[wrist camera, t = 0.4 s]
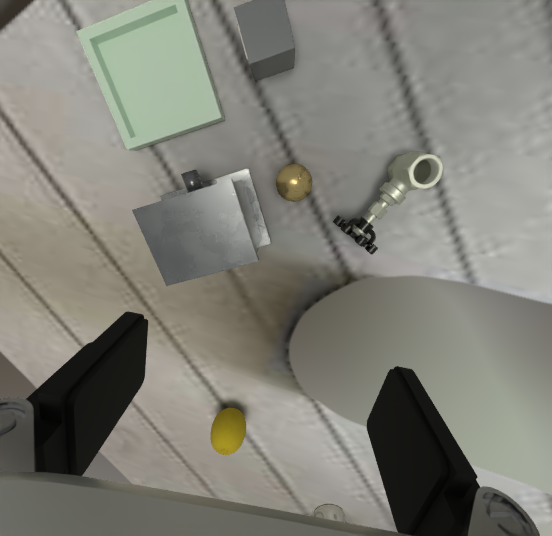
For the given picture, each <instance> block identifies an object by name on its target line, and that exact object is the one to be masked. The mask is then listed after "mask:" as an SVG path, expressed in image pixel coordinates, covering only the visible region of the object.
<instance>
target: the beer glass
mask: <svg viewBox="0 0 552 536" xmlns="http://www.w3.org/2000/svg"><path fill="white" fill-rule="evenodd" d="M314 517H318V518H323V519H329V520H334V521H339V522H344V512H343V510H342V509H341V508H340V507H338V506H336V505H332V504H326V505H322V506H320V507H318V508H317V509H316V510H315V512H314Z"/></svg>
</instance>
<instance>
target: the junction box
mask: <svg viewBox="0 0 552 536" xmlns="http://www.w3.org/2000/svg"><path fill="white" fill-rule="evenodd" d="M181 175H182V178H183V180H184V183H185V185H186V188H184V189H181V190H178V191H175V192H171V193H168V194H165V195H162V196H161V199H162V201H160V202H157V203H154V204H150V205H147V206H144V207H141V208H137V209H134V210H132V211H133V213H134V215H135V218H136V220H137V222H138V224H139V226H140V229H141V231H142V233H143V235H144V237H145V240H146V242H147V244H148V246H149V248H150V251H151V253H152V255H153V257H154V259H155V262H156V264H157V266H158V268H159V270H160V273H161V275H162V277H163V279H164V281H165V284H166V286H168V285H172V284H176V283H180V282H183V281H187V280H191V279H194V278H198V277H202V276H206V275H209V274H213V273H217V272H221V271H224V270H228V269H232V268H236V267H239V266H243V265H247V264H250V263H254V262H258V260H259V258H258V255H257V251H258V248H259V247H260V246H264V245H268V244H271V240H270V237H269V234H268V230H267V227H266V224H265V221H264V217H263V214H262V211H261V208H260V204H259V201H258V198H257V194H256V191H255V188H254V185H253V181H252V178H251V175H250V172H249V168H248V169H245V170H242V171H238V172H235V173H232V174H229V175H226V176H222V177H219V178H216V179H213V180H210V181H206V182H203V183H201V180H200V177H199V174H198V172H197V170H193V171H189V172H186V173H183V174H181Z"/></svg>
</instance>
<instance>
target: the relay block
mask: <svg viewBox="0 0 552 536" xmlns="http://www.w3.org/2000/svg"><path fill="white" fill-rule="evenodd" d="M234 10H235V13H236V17H237V21H238V24H237V25H238V29H239V33H240V36H241V40H242V43H243V47H244V51H245V54H246V58H247V61H248V64H249V66H250V67H251V70H252V72H253V75H254V78H255V81H258V80H261V79H264V78H267V77H269V76H272V75H275V74H278V73H281V72H284V71H286V70H289V69H292V68H294V57H295V45H294V40H293V36H292V31H291V27H290V22H289V18H288V14H287V9H286V5H285V0H252V1H250V2H247V3H245V4H242V5H240V6H237V7H234Z"/></svg>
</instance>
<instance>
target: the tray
mask: <svg viewBox="0 0 552 536" xmlns="http://www.w3.org/2000/svg"><path fill="white" fill-rule="evenodd" d="M76 32H77V35H78V37H79V39H80V42H81V44H82V46H83V49H84V51H85V53H86V56H87V58H88V60H89V63H90V65H91V67H92V70H93V72H94V74H95V77H96V79H97V81H98V83H99V86H100V88H101V90H102V93H103V95H104V97H105V100H106V102H107V104H108V107H109V109H110V111H111V114H112V116H113V118H114V121H115V123H116V125H117V128H118V130H119V132H120V135H121V137H122V139H123V142H124V144H125V146H126V148H127V150H135V151H136V150H139V149H141V148H144V147H147V146H150V145H153V144H156V143H159V142H162V141H165V140H168V139H171V138H174V137H177V136H180V135H183V134H186V133H188V132H191V131H194V130H197V129H200V128H203V127H206V126H209V125H212V124H215V123H218V122H221V121H224V120H225V118H224V115H223V112H222V109H221V106H220V102H219V99H218V96H217V93H216V90H215V86H214V83H213V80H212V77H211V74H210V71H209V67H208V64H207V61H206V58H205V55H204V52H203V48H202V45H201V42H200V39H199V36H198V32H197V29H196V26H195V23H194V20H193V17H192V13H191V10H190V7H189V4H188V1H187V0H152V1H149V2H147V3H144V4H142V5H139V6H137V7H135V8H132V9H130V10H127V11H125V12H122V13H120V14H118V15H115V16H113V17H110V18H108V19H105V20H103V21H101V22H98V23H96V24H93V25H91V26H88V27H86V28H84V29H81V30H79V31H76Z"/></svg>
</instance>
